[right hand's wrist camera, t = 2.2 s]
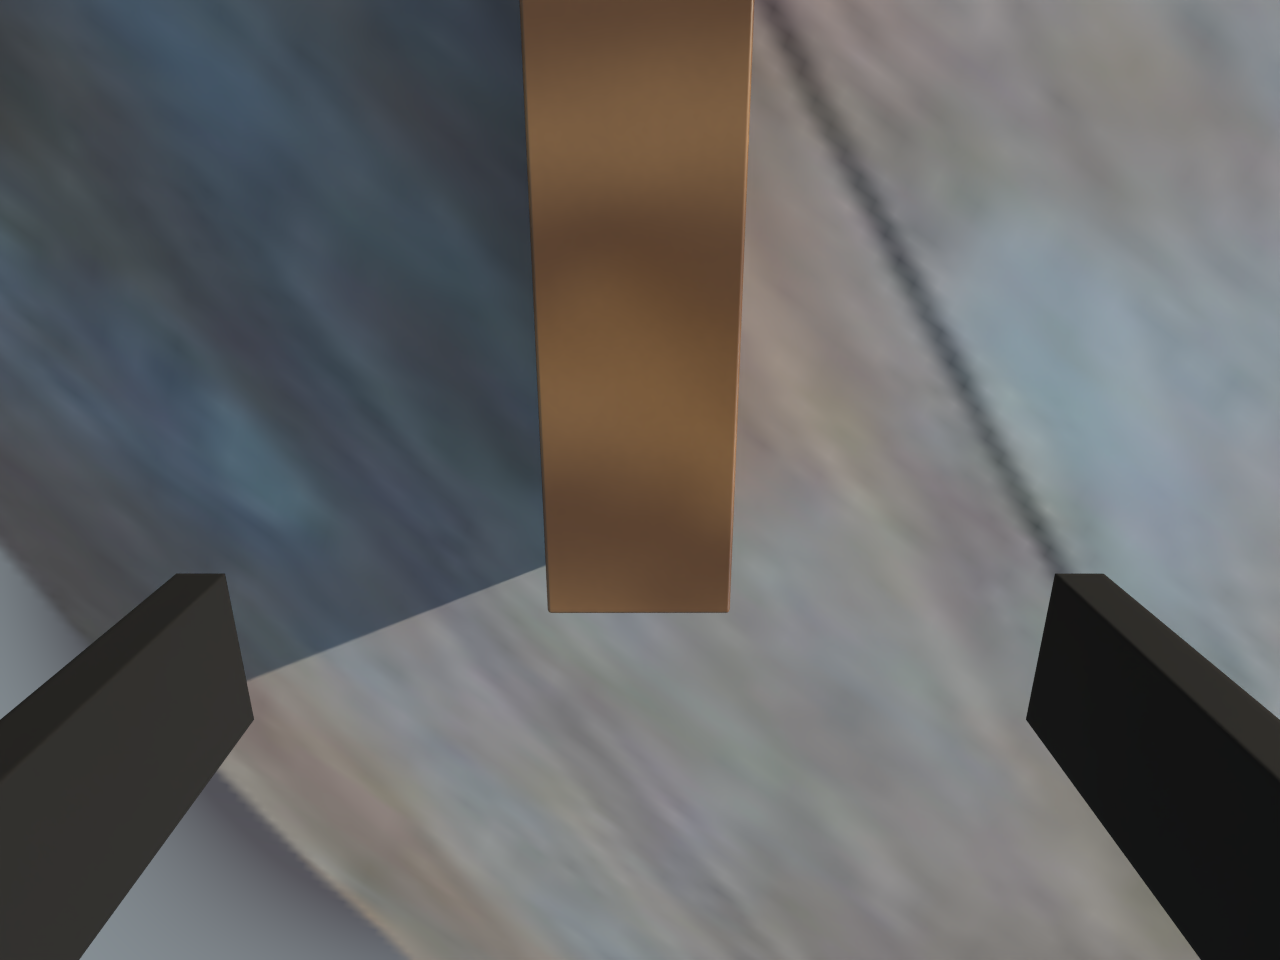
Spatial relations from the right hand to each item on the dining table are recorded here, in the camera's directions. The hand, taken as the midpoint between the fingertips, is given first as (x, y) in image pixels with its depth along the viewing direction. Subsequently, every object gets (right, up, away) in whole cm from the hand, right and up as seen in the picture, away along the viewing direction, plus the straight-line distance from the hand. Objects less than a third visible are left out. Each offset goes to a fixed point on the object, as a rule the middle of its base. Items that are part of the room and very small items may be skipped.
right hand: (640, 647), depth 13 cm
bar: (0, +14, +11) cm, 18 cm away
